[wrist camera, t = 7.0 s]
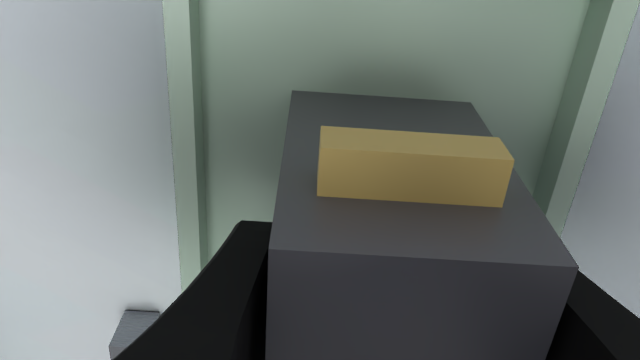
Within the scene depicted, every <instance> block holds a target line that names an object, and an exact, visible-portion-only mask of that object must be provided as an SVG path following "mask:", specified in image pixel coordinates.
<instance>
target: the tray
mask: <svg viewBox="0 0 640 360" xmlns="http://www.w3.org/2000/svg"><path fill="white" fill-rule="evenodd" d="M639 3H640V0H162V5H163V20H164V35H165V50H166V65H167V79H168V94H169V109H170V124H171V139H172V154H173V169H174V184H175V199H176V214H177V229H178V243H179V258H180V273H181V288H182V293H183V292H184V291H185V289H186V288H187V287H188V286H189V285H190V284H191V283H192V281H193V280H194V279H195V278H196V277H197V275H198V274H199V273H200V272H201V271H202V270H203V268H204V267H205V266H206V265H207V264H208V262H209V261H210V260H211V259H212V257H213V256H214V255H215V253H216V252H217V251H218V250H219V248H220V247H221V246H222V244H223V243H224V241H225V240H226V239H227V237H228V236H229V234H230V233H231V231H232V230H233V228H234V227H235V225H236V224H237V223H239V222H240V221H241V220H246V221H263V222H273V215H274V209H275V202H276V195H277V188H278V182H279V175H280V168H281V161H282V155H283V148H284V141H285V134H286V128H287V121H288V114H289V107H290V101H291V94H292V90H295V91H310V92H325V93H339V94H354V95H369V96H384V97H399V98H414V99H428V100H443V101H458V102H471V104H472V105H473V107H474V108H475V110H476V111H477V113H478V114H479V116H480V117H481V119H482V120H483V122H484V123H485V125H486V127H487V128H488V130H489V131H490V133H491V134H492V136H493V137H499V138H500V139H501V141H502V142H503V144H504V145H505V147H506V148H507V150H508V151H509V153H510V154H511V156H512V157H513V158H514V160H515V161H514V165H513V168H514V169H515V171H516V172H517V174H518V175H519V177H520V178H521V180H522V181H523V183H524V184H525V186H526V187H527V189H528V190H529V192H530V193H531V195H532V197H533V198H534V200H535V201H536V203H537V204H538V206H539V207H540V209H541V210H542V212H543V213H544V215H545V216H546V218H547V219H548V221H549V222H550V224H551V225H552V227H553V228H554V230H555V232H556V233H557V235H558V236H559V238H560V236H561V234H562V231H563V228H564V225H565V222H566V219H567V216H568V213H569V210H570V207H571V204H572V201H573V198H574V195H575V192H576V189H577V186H578V183H579V180H580V177H581V174H582V171H583V168H584V165H585V162H586V160H587V157H588V154H589V151H590V148H591V145H592V142H593V139H594V136H595V133H596V130H597V127H598V124H599V121H600V118H601V115H602V112H603V109H604V106H605V103H606V100H607V97H608V94H609V91H610V89H611V86H612V83H613V80H614V77H615V74H616V71H617V68H618V65H619V62H620V59H621V56H622V53H623V50H624V47H625V44H626V41H627V38H628V35H629V32H630V29H631V26H632V23H633V20H634V17H635V15H636V12H637V9H638V6H639Z"/></svg>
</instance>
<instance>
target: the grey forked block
mask: <svg viewBox="0 0 640 360" xmlns="http://www.w3.org/2000/svg"><path fill="white" fill-rule="evenodd" d="M159 317H160V314H159V312H142V311H125V312H124V314H123V316H122V318H121V320H120V323H119V325H118V327H117V329H116V331H115V334H114V336H113V338H112V340H111V342H110V345H109V351H110V358H111V360H112V359H114V358H115V357H116V356H117V355H118V354H119V353H121V352H122V351H123V350H124V349H125V348H126V347H128V346H129V345H130V344H131V343H132V342H133V341H134V340H135V339H137V338H138V337H139V336H140V335H141V334H142V333H143V332H144V331H145V330H146V329H147V328H148V327H149V326H151V325H152V324H153V323H154V322H155V321H156V320H157V319H158V318H159Z"/></svg>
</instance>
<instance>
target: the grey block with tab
mask: <svg viewBox="0 0 640 360" xmlns="http://www.w3.org/2000/svg"><path fill="white" fill-rule="evenodd" d="M514 161H515V160H514V158H513V157H512V156H511V154H510V153H509V151H508V150H507V148H506V147H505V145H504V144H503V142H502V141H501V139H500V138H499V137H493V136H492V134H491V133H490V131H489V130H488V128H487V127H486V125H485V123H484V122H483V120H482V119H481V117H480V116H479V114H478V113H477V111H476V110H475V108H474V107H473V105H472V104H471V102H458V101H443V100H428V99H414V98H399V97H384V96H369V95H354V94H339V93H325V92H310V91H295V90H292V94H291V101H290V107H289V114H288V121H287V128H286V134H285V141H284V148H283V155H282V161H281V168H280V175H279V182H278V188H277V195H276V202H275V209H274V215H273V222H272V229H271V235H270V242H269V249H268V283H267V317H266V352H265V360H545V359H546V356H547V353H548V351H549V348H550V345H551V343H552V340H553V337H554V334H555V332H556V329H557V326H558V323H559V321H560V318H561V315H562V312H563V310H564V307H565V304H566V302H567V299H568V296H569V293H570V291H571V288H572V285H573V282H574V280H575V277H576V274H577V271H578V269H579V267H578V265H577V263H576V262H575V260H574V259H573V257H572V256H571V254H570V253H569V251H568V250H567V248H566V247H565V245H564V244H563V242H562V241H561V239H560V238H559V236H558V235H557V233H556V232H555V230H554V228H553V227H552V225H551V224H550V222H549V221H548V219H547V218H546V216H545V215H544V213H543V212H542V210H541V209H540V207H539V206H538V204H537V203H536V201H535V200H534V198H533V197H532V195H531V193H530V192H529V190H528V189H527V187H526V186H525V184H524V183H523V181H522V180H521V178H520V177H519V175H518V174H517V172H516V171H515V169H514V168H513V165H514Z"/></svg>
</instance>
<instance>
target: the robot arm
mask: <svg viewBox="0 0 640 360" xmlns="http://www.w3.org/2000/svg"><path fill="white" fill-rule="evenodd" d="M271 229H272V222H263V221H246V220H241V221H240V222H239V223H237V224H236V225H235V227H234V228H233V230H232V231H231V233H230V234H229V236H228V237H227V239H226V240H225V241H224V243H223V244H222V246H221V247H220V248H219V250H218V251H217V252H216V253H215V255H214V256H213V257H212V259H211V260H210V261H209V262H208V264H207V265H206V266H205V267H204V268H203V270H202V271H201V272H200V273H199V274H198V275H197V277H196V278H195V279H194V280H193V281H192V283H191V284H190V285H189V286H188V287H187V288H186V289H185V291H184V292H183V293H182V294H181V295H180V296H179V297H178V298H177V299H176V300H175V301H174V302H173V303H172V304H171V305H170V306H169V307H168V308H167V309H166V310H165V311H164V312H163V314H162V315H161V316H160V317H159V318H158V319H157V320H156V321H155V322H154V323H153V324H152V325H151V326H149V327H148V328H147V329H146V330H145V331H144V332H143V333H142V334H141V335H140V336H139V337H138V338H137V339H135V340H134V341H133V342H132V343H131V344H130V345H129V346H128V347H126V348H125V349H124V350H123V351H122V352H121V353H119V354H118V355H117V356H116V357H115V358H114V359H112V360H265V352H266V317H267V283H268V249H269V242H270V235H271ZM545 360H640V318H638V317H637V316H636V315H634V314H633V313H632V312H630V311H629V310H628V309H626V308H625V307H624V306H623V305H621V304H620V303H619V302H617V301H616V300H615V299H614V298H612V297H611V296H610V295H608V294H607V293H606V292H605V291H603V290H602V289H601V288H600V287H598V286H597V285H596V284H595V283H593V282H592V281H591V280H590V279H588V278H587V277H586V276H585V275H583V274H582V273H581V272H580V271H577V274H576V277H575V280H574V282H573V285H572V288H571V291H570V293H569V296H568V299H567V302H566V304H565V307H564V310H563V312H562V315H561V318H560V321H559V323H558V326H557V329H556V332H555V334H554V337H553V340H552V343H551V345H550V348H549V351H548V353H547V356H546V359H545Z"/></svg>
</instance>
